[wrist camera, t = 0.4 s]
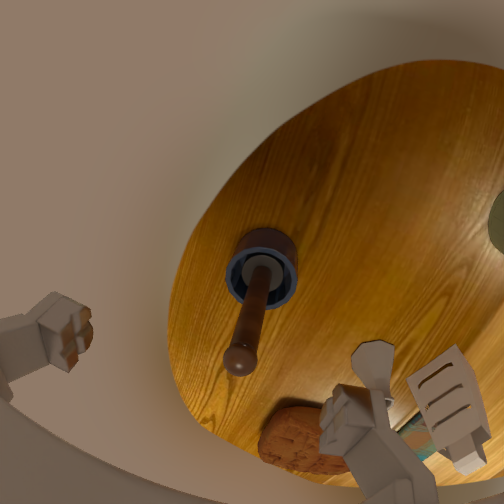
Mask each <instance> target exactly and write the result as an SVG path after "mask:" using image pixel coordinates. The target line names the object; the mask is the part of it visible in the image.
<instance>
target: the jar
mask: <svg viewBox="0 0 504 504" xmlns="http://www.w3.org/2000/svg"><path fill="white" fill-rule="evenodd" d="M488 227H489V235H490V239H491V241H492V243H493V245H494V246H495V247H496V248H497V249H498V250H499V251H500V252H502V253H503V254H504V191H503V192H502V193H501V194H500V195H499V196H498V197H497V199H496V200H495V202H494V204H493V206H492V209H491V212H490V216H489V225H488Z"/></svg>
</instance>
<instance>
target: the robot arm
mask: <svg viewBox="0 0 504 504" xmlns="http://www.w3.org/2000/svg"><path fill="white" fill-rule="evenodd" d="M91 317H92V316H91V309H90V308H88V307H87V306H85V305H83V304H80V303H78V302H76V301H74V300H72V299H70V298H68V297H66V296H63V295H61V294H59V293H58V292H51V293H50V294H49V295H47V296H46V297H45V298H44V299H43V300H42V301H40V302H39V303H38V304H37V305H36V306H35V307H33V308H32V309H31V310H30V311H29V312H28V313H27V314H26V315H23V314H19V315H15V316H11V317H7V318H3V319H0V504H226V503H221V502H218V501H213V500H209V499H206V498H202V497H198V496H195V495H191V494H188V493H185V492H181V491H178V490H175V489H172V488H169V487H166V486H163V485H160V484H157V483H154V482H152V481H149V480H147V479H144V478H142V477H139V476H136V475H134V474H131V473H129V472H127V471H125V470H122V469H120V468H118V467H116V466H113V465H111V464H109V463H107V462H105V461H102V460H101V459H99V458H96V457H94V456H93V455H91V454H89V453H87V452H85V451H83V450H81V449H79V448H77V447H76V446H74V445H72V444H70V443H68V442H67V441H65V440H63V439H62V438H60V437H58V436H56V435H55V434H53V433H52V432H50V431H48V430H47V429H45V428H44V427H42V426H41V425H39V424H38V423H36V422H35V421H33V420H32V419H30V418H29V417H27V416H26V415H24V414H23V413H22V412H20V411H19V410H17V409H16V408H15V407H13V406H12V405H10V404H9V402H10V401H11V400H12V398H13V392H12V391H11V389H10V387H9V385H8V383H10V382H12V381H14V380H16V379H18V378H20V377H23V376H25V375H27V374H29V373H32V372H34V371H36V370H38V369H40V368H42V367H44V366H47V365H49V363H50V364H52V365H54V366H56V367H58V368H60V369H62V370H63V371H65V372H67V373H69V372H70V371H71V369H72V368H73V367H74V366H75V364H76V363H77V362H78V354H81V353H84V352H86V350H87V349H88V348H89V347H90V344H91V342H92V339H93V327H92V325H91V324H90V322H89V319H90V318H91ZM319 426H320V427H321V429H322V430H323V432H322V434H321V435H320V436H319V453H320V454H326V455H334V456H342V457H343V459H344V461H345V463H346V464H347V466H348V468H349V470H350V471H351V473H352V475H353V477H354V478H355V480H356V482H357V484H358V485H359V487H360V488H361V490H362V492H363V494H364V496H365V497H366V500H365V501H363V502H361V503H360V504H439V500H438V494H437V488H436V482H435V477H434V475H433V474H432V473H431V472H430V470H429V469H428V468H427V467H426V466H425V465H424V464H423V462H422V461H421V460H420V459H419V458H418V457H417V455H416V454H415V453H414V452H413V451H412V450H411V448H410V447H409V446H408V445H407V444H406V443H405V442H404V440H403V439H402V438H401V437H400V436H399V435H398V433H397V432H396V431H395V430H391V428H390V423H389V417H388V412H387V407H386V402H385V398H384V393H383V391H382V390H378V389H371V388H364V387H357V386H351V385H345V384H340V383H339V384H338V385H336V386H335V388H334V389H333V397H331V398H328V399H327V400H326V401H325V403H324V405H323V407H322V410H321V413H320V418H319ZM464 504H504V492H503V493H500V494H497V495H493V496H490V497H487V498H484V499H480V500H476V501H472V502H468V503H464Z"/></svg>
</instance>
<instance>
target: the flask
mask: <svg viewBox="0 0 504 504" xmlns="http://www.w3.org/2000/svg"><path fill="white" fill-rule="evenodd" d="M351 359H352V369H353V371H354V372H355V373H356V375H357V376H358V377H359V378H360V380H361V381H362V382H363V384H364V385H365V387H366V388H371V389H378V390H382V391H383V393H384V398H385V402H386V407H387V411H388V410H389V409H390V408H391V407H392V406H393V404H394V398H393V397H391V394H390V377H391V371H392V366H393V360H394V346H393V345H391V344H388V343H386V342H383V341H381V340H380V341H374V342H369V343H363V344H361V345H360V347H359V348H358V349H357V350H356V351H355V353H354V354H353V355H352V356H351Z"/></svg>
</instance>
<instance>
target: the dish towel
mask: <svg viewBox="0 0 504 504" xmlns="http://www.w3.org/2000/svg"><path fill="white" fill-rule="evenodd" d="M435 425H436V423H435ZM435 425H434V427H436V426H435ZM434 427H432V429H433V428H434ZM434 430H435V428H434ZM432 432H434V431H433V430H432ZM398 435H399V436H400V437H401V438H402V439H403V440H404V442H405V443H406V444H407V445H408V446H409V447H410V448H411V450H412V451H413V452H414V453H415V454H416V455H417V457H418V458H419V459H420V460H421V461H424V460H425V459H426V458H428V457H429V456H431V455H432V454H433V453H435V452H436V451H437V449H436V447H435V444H434V442H433V440H432V437H431V435H430V432H429V430H428V428H427V425H426V423H425V421H424V418H423V416H422V414H421V412H419V413H418V414H417V415H416V416H415V417H414V418H413V419H412V420H411V421H410V422H409V423H407V424H406V425H405V426H404V427H403V428H402V429H401V430H400V431H399V432H398Z"/></svg>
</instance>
